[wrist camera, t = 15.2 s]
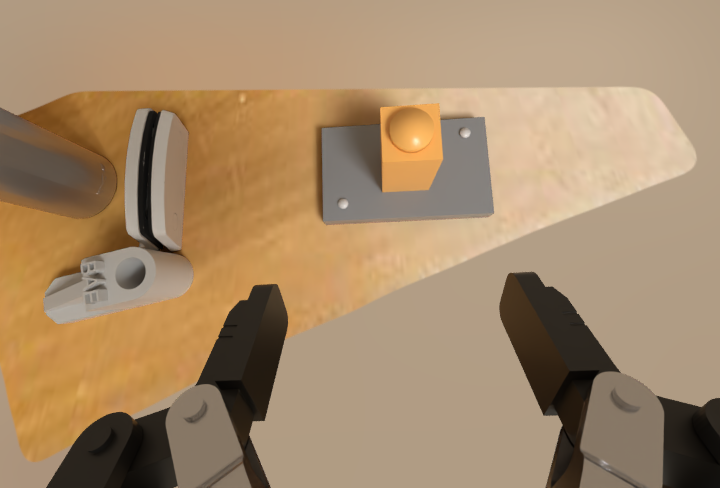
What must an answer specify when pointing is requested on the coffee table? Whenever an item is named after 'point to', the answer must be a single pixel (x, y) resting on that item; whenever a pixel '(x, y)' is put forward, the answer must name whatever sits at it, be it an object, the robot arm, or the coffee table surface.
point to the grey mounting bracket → (117, 284)
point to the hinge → (156, 179)
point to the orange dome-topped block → (410, 146)
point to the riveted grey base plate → (370, 205)
